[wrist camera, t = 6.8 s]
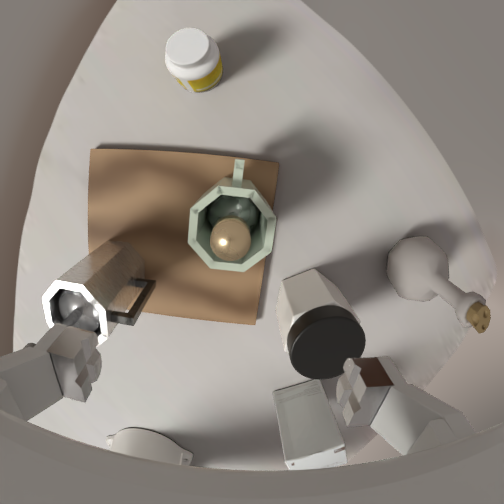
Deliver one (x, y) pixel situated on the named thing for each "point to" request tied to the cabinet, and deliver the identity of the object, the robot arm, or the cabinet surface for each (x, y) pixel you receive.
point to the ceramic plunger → (231, 226)
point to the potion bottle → (432, 280)
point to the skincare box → (308, 428)
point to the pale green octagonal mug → (259, 233)
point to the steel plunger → (77, 312)
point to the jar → (317, 325)
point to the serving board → (173, 227)
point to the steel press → (105, 286)
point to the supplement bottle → (194, 60)
